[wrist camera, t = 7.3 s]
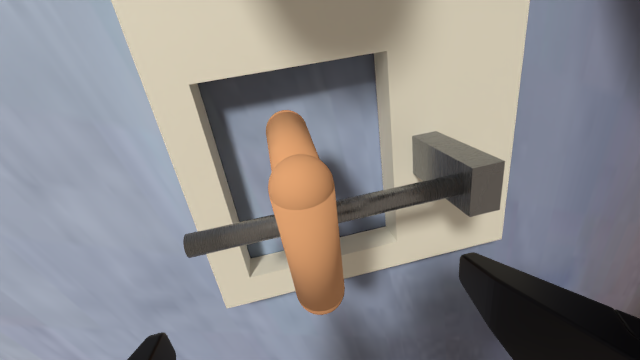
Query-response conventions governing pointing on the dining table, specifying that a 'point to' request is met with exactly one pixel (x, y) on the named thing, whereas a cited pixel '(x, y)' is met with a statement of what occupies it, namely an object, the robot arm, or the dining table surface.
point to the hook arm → (390, 193)
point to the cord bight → (305, 213)
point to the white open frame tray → (392, 100)
